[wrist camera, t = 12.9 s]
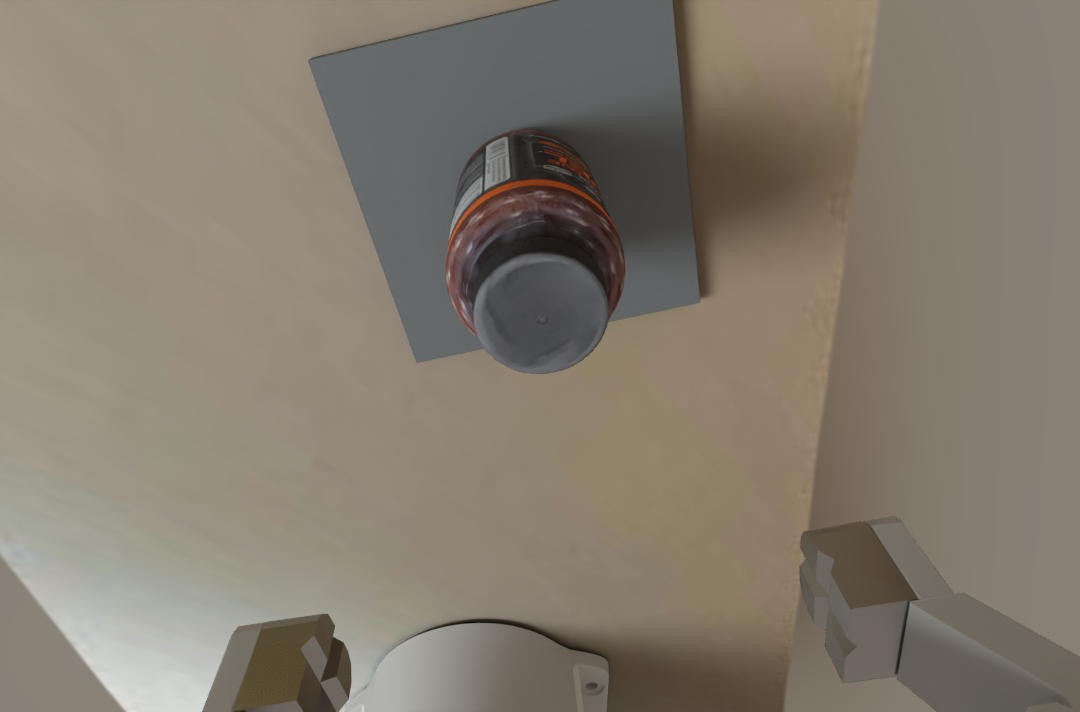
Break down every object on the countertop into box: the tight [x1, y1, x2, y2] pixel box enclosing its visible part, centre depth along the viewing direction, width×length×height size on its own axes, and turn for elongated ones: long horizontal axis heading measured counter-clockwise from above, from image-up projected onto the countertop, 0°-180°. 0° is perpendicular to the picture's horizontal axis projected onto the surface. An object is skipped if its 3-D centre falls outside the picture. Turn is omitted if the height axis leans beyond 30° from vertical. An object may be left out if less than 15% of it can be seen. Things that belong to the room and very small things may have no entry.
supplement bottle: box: [446, 129, 626, 374], centre depth 24 cm, size 6×6×11 cm
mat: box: [308, 0, 700, 363], centre depth 30 cm, size 14×14×1 cm
